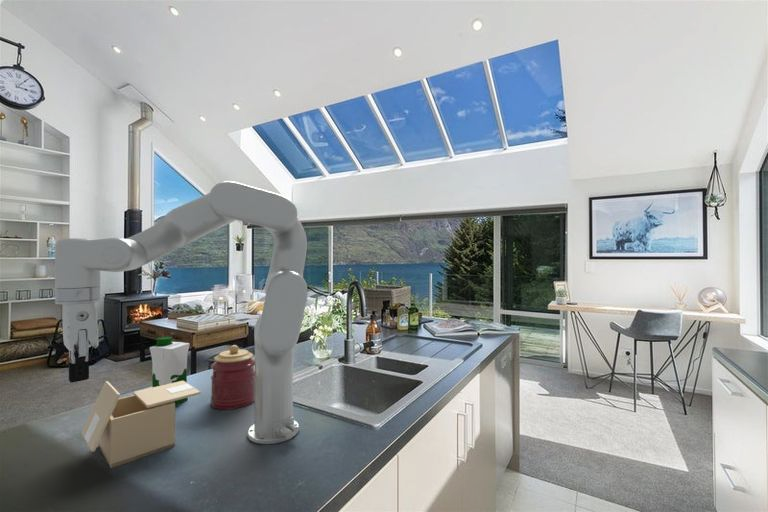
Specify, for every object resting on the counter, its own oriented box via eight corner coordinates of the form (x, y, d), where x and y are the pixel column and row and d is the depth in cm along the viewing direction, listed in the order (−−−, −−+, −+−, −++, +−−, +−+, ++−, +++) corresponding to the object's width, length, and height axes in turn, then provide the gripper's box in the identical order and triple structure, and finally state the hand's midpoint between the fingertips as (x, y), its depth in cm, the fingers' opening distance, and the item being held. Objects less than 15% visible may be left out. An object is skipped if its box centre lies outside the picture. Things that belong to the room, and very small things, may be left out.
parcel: (174, 446, 87) (175, 403, 87) (111, 468, 78) (111, 420, 78) (157, 428, 96) (157, 389, 96) (98, 446, 87) (98, 403, 87)
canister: (238, 412, 106) (238, 352, 106) (200, 407, 110) (201, 348, 110) (263, 396, 119) (264, 342, 119) (229, 392, 122) (230, 339, 122)
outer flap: (120, 394, 80) (116, 394, 79) (94, 451, 76) (90, 451, 76) (108, 381, 88) (104, 381, 87) (84, 432, 85) (80, 432, 84)
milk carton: (168, 396, 118) (168, 334, 118) (192, 398, 116) (193, 336, 116) (145, 407, 109) (146, 340, 109) (171, 410, 107) (172, 342, 107)
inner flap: (200, 394, 92) (200, 391, 92) (147, 407, 83) (147, 404, 83) (183, 382, 100) (183, 380, 100) (133, 394, 92) (133, 391, 92)
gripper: (107, 296, 77) (107, 383, 77) (93, 291, 87) (93, 369, 87) (60, 300, 71) (60, 394, 71) (51, 294, 81) (51, 376, 81)
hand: (78, 380), depth 79 cm, fingers closed
